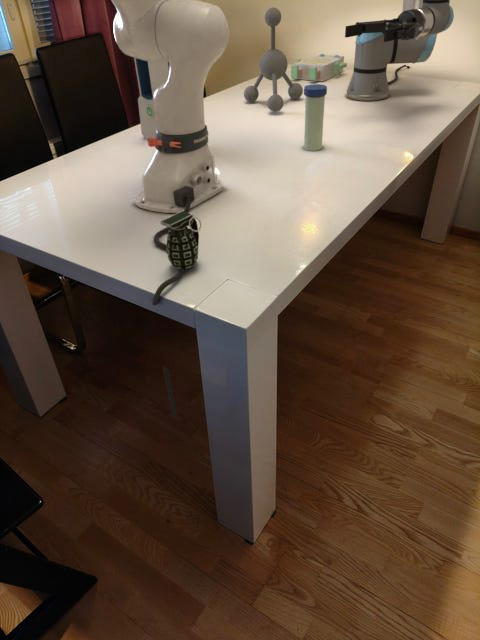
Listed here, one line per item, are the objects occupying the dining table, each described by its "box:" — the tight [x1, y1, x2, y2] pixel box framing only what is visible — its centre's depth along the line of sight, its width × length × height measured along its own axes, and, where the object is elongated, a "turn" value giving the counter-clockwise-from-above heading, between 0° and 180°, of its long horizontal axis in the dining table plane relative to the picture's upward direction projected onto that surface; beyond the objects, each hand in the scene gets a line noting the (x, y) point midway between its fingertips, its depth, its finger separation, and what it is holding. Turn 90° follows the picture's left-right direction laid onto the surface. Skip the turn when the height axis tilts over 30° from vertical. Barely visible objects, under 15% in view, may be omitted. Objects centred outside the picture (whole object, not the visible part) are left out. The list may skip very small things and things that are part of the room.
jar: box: [303, 95, 326, 152], centre depth 135 cm, size 5×5×16 cm
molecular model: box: [243, 6, 304, 113], centre depth 169 cm, size 24×22×30 cm
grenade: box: [159, 211, 202, 271], centre depth 88 cm, size 7×6×10 cm
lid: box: [303, 83, 328, 97], centre depth 130 cm, size 6×6×2 cm
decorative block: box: [290, 53, 348, 82], centre depth 209 cm, size 26×6×20 cm
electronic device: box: [133, 57, 170, 140], centre depth 143 cm, size 12×8×30 cm, turn 47°
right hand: (365, 33), depth 132 cm, fingers open, 13 cm apart
